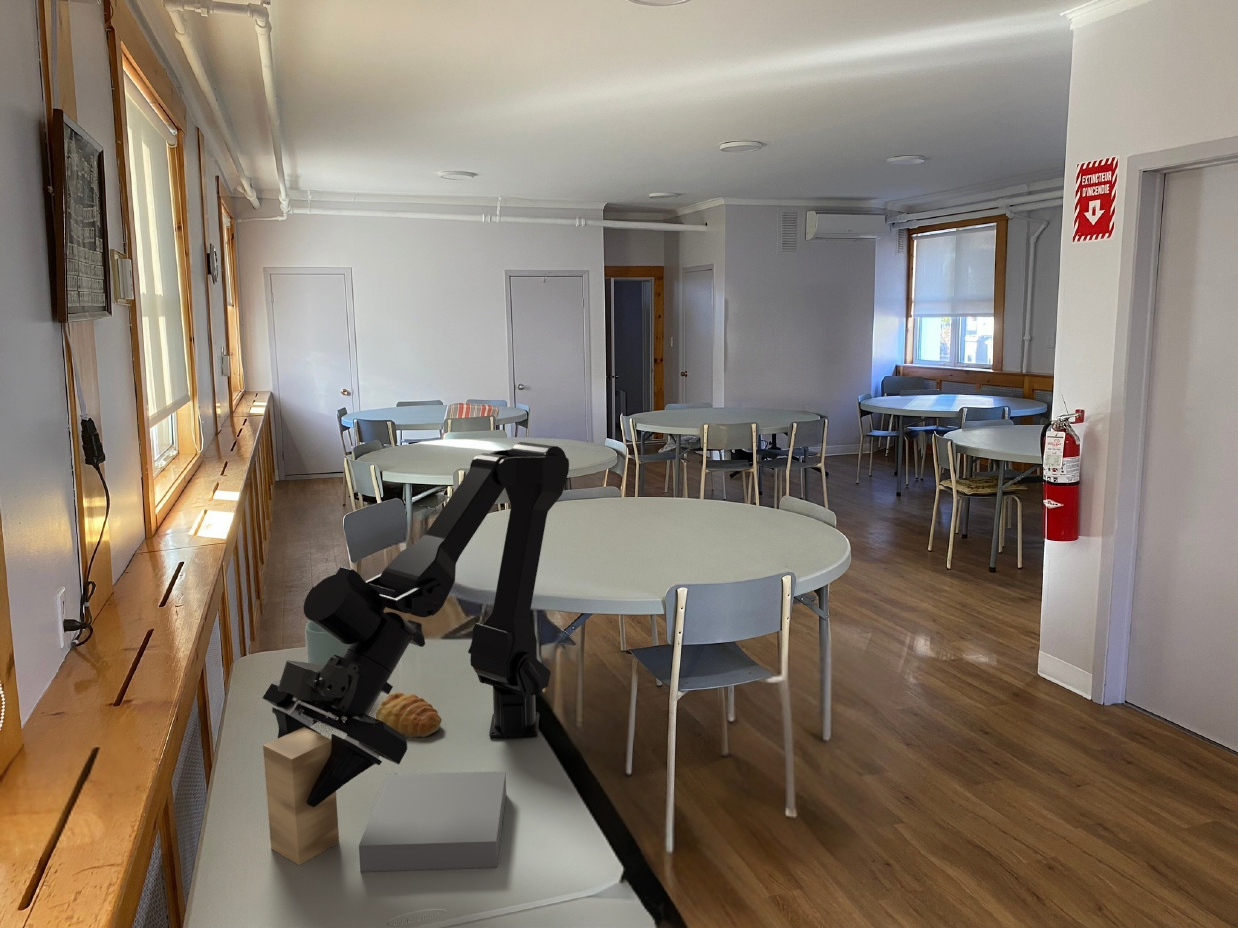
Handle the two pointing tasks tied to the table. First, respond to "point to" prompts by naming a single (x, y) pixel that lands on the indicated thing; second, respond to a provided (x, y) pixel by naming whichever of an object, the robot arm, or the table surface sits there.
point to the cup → (321, 645)
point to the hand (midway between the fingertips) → (289, 794)
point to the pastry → (409, 715)
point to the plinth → (435, 822)
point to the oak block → (299, 796)
